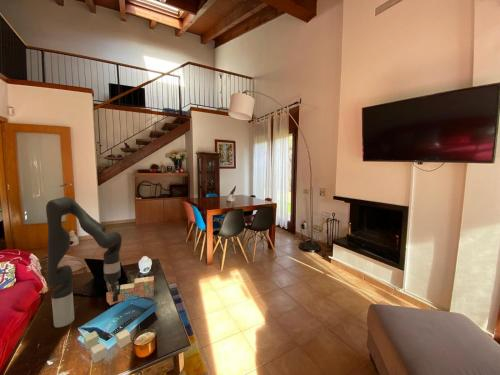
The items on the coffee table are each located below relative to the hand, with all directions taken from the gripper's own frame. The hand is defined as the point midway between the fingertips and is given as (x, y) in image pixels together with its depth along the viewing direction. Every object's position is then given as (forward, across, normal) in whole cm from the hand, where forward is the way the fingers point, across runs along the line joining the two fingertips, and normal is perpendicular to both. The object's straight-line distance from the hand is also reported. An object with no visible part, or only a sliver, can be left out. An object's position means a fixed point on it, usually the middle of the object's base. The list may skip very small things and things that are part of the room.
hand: (113, 299), depth 120 cm
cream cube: (+19, +11, 0) cm, 22 cm away
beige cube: (+19, +11, -11) cm, 25 cm away
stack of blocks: (+20, -23, +22) cm, 38 cm away
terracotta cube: (+1, 0, 0) cm, 1 cm away
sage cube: (+20, 0, -11) cm, 22 cm away
